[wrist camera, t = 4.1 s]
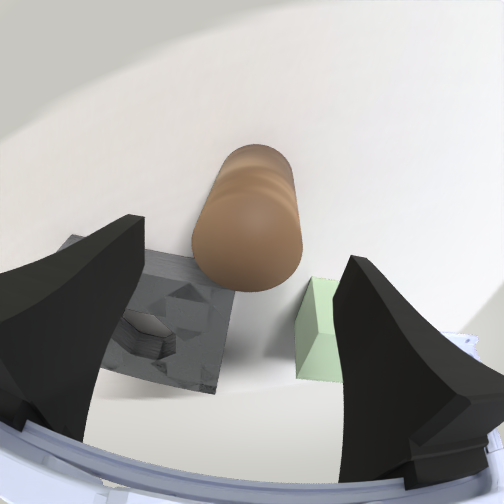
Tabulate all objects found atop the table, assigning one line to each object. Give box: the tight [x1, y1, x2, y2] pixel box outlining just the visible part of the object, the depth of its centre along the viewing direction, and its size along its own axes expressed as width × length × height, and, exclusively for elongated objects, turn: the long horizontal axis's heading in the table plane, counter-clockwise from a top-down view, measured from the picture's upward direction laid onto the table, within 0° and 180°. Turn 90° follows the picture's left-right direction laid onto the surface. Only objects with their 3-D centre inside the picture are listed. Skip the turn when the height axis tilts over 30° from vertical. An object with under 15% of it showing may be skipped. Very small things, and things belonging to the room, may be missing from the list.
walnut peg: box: [192, 144, 303, 292], centre depth 15 cm, size 4×4×7 cm
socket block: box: [57, 235, 235, 395], centre depth 23 cm, size 12×12×2 cm
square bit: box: [294, 276, 343, 383], centre depth 20 cm, size 4×4×5 cm
